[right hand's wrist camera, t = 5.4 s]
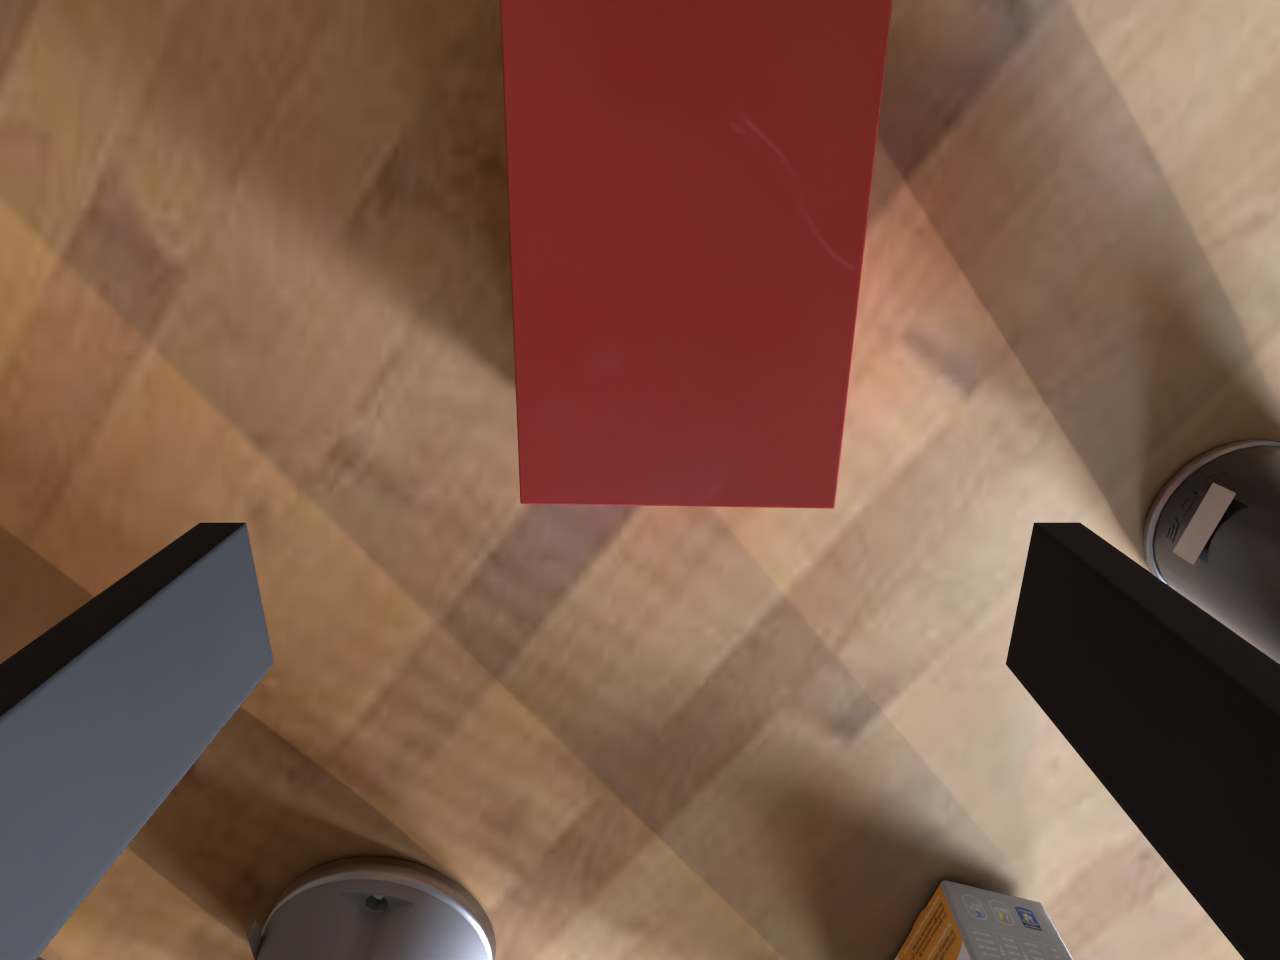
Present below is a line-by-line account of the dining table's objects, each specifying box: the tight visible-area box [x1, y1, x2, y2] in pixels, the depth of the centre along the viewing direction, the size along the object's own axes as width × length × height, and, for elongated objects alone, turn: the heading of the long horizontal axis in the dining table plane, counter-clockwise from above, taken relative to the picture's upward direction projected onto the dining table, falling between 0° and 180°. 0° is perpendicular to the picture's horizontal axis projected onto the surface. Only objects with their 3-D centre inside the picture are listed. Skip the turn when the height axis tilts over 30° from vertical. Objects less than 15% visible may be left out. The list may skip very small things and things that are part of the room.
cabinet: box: [500, 0, 893, 508], centre depth 30 cm, size 17×11×12 cm, turn 179°
